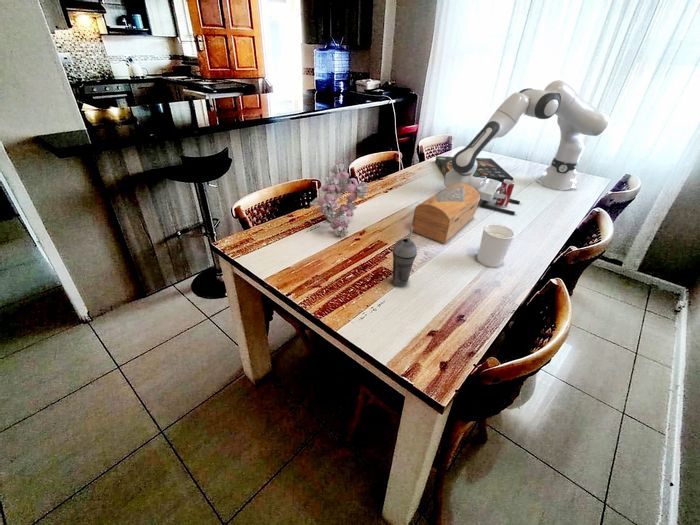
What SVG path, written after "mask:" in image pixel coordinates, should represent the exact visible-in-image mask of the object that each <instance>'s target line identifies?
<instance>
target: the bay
mask: <svg viewBox="0 0 700 525" xmlns="http://www.w3.org/2000/svg"><path fill="white" fill-rule="evenodd" d="M494 199H495V200H497V198H493V200H494ZM487 203H488V201H486V200H482V202H481V204H480V205H479V207H480V208H483V209H488V210H491V211H495V212H500V213H503V214H507V215H512V216H515V214H516V211H513V210H509V209H506V208H503V207H499V206H495V205H489V204H487ZM508 203H512V204H516V205H520V203H521V201H520V200H517V199H514V198H510V199H509V202H508Z"/></svg>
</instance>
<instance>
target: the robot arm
mask: <svg viewBox="0 0 700 525" xmlns="http://www.w3.org/2000/svg"><path fill="white" fill-rule="evenodd" d="M554 115H556V116H557V119H556V120H557V121H556V122H557V125H558V127H559V131H560V139H559V140H560V141H559V144H558V148H557V150H556V153H555V155H554V157H553V158H552V161H551V164H550V166H548V167H546V168H545V170H544V172H543V175H542V176H541V177H540V178H538V179H537V180H536V181H537V183H538V184H541V185H543V187H544V186H545V187H547V188H548V189H553V190H558V191H569V190H570V191H572V190H574V191H575V190H576V186H575V184H576V183H577V180H576V178H577V175H578V173H577V171H576V169H577V168H578V166H579V161H580V159H581V156H582V154H583V151H584V149H585V144H584V143H583V141H582V136H586V137H599V136H601V135H603V134H604V133H606V131H607V130H608V129H609V127H610V125H611V117H610V116H609V114H608V115H607V114H606V113H604V112H602V111H601V110H599V109H598V108H597V107H595V106H594V105H592V104H591V103H589V102H587V101H586V100H585V99H583V98H582V97H581V95H579V94H578V93H577V91H576V90H575V89H574V88H573V87H572V86H570V84H568V83H566V82H565V81H564V80H554V81H552V82H550V83H548V84H547V86H546V87H545V88H544V89H543V90H542V89H535V88H523V89H521V90H520V91H518V92H514V93H512V94H511V95H510V96H508V97H507V98H506V99H505V100H504V101H503V102H502V103H500V105H499V107H497V109H496V110H495V111H494V113H493V114H492V115H491V116H490V118H489V120H488V121H487V122H486V124H485V125H484V126H483V128H481V130H480V131H479V132H478V133H477V134H476V135H475V137H474V138H473V139H472V140H471V141H470V142H469V143H468V145H466V146H465V147H464V148H463V149H461V150H459V151H457V152H456V153H455V154H454V155H453V156H452V157H453V159H452V167H453V168H452V169H451V170H450V171H449V172H447V173H446V175H445V176H444V179H443V184H444V187H445V188H447V187H448V186H450V185H454V184H458V183H464V184H467V185H470V186H472V187H473V188H475V189H476V190H477V192H478V194H479V196H480V200H482V201H484V200H486V201H487V202H492V201H493V200H494V198H503V199H504V198H505V197H506V194H503V193H502V194H499V192H500V189H501V185H502V184H501V182H500V181H497V180H493V179H489V178H487V179H486V177H485V176H481V177H473V175H474V173H475V171H476V169H477V161H476V158H478V156H479V154H480V153H481V152H482V151H483V150H484V149H485V147H487V146H488V144H489V143H490V142H492V141H493V140H494V139H497V138H503V137H505V136H506V135H508V133H509V132H510V131H512V130H513V128H514V127H515V126H516V125H517V124H518V123H519V121H520V120H521V118H522V117H523V116H527V117H531V118H536V119H539V120H548V119H551V118H552V117H553V116H554ZM574 183H575V184H574Z"/></svg>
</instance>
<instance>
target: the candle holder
mask: <svg viewBox="0 0 700 525" xmlns="http://www.w3.org/2000/svg"><path fill="white" fill-rule="evenodd" d="M515 236H516V234H515V231H513V229H511V228H510V227H508V226H505V225H503V224H496V223H490V224H486V225H485V226H483V231H482V234H481V239H480V242H479V248H478V251H477V255H476V259H477V261H478V262H479V263H480V264H482V265H483V266H486V267H490V268H497V267H500V266H502V264H503V262H504V260H505V257H506V255H507V253H508V250H509V249H510V247H511V244H512V243H513V242H512V241H513V240H514V238H515Z"/></svg>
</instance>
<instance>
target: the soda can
mask: <svg viewBox="0 0 700 525" xmlns="http://www.w3.org/2000/svg"><path fill="white" fill-rule="evenodd" d="M514 187H515V181H514V180H513V181H512V180H508V179H506V180H504V181H503V183H502V184H501V189H500V191H498V193H499V194H502V193H503V194H506V197H505V198H504V199H503V198H497V199H496V201H495V205H496V207H498V208H506V207H508V205H509V203H510V202H509V199H511V196H512V193H513V190H514Z"/></svg>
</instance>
